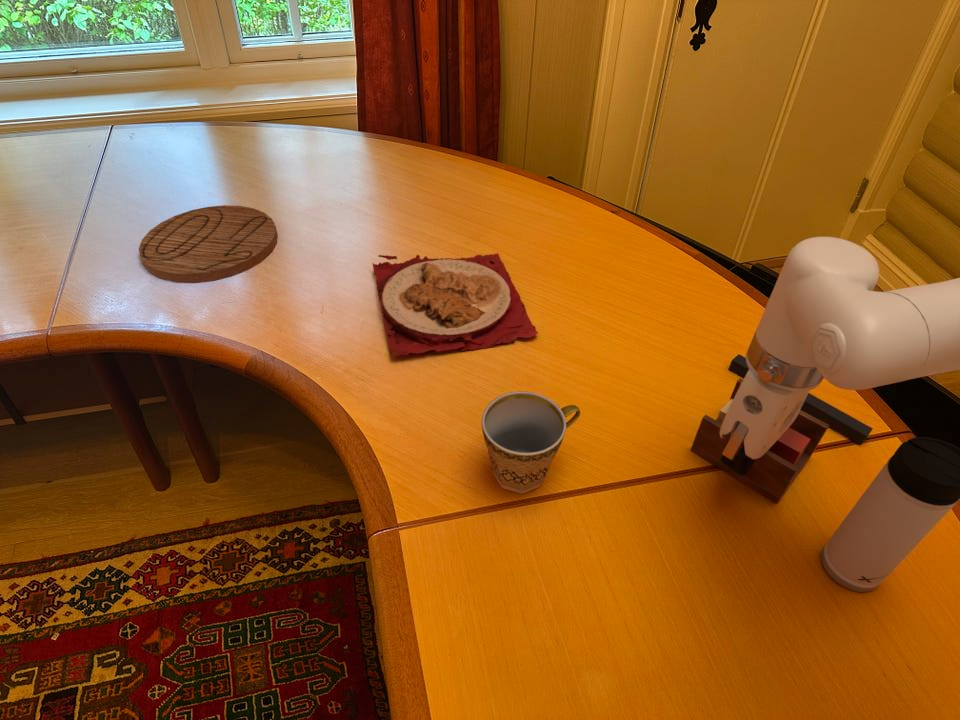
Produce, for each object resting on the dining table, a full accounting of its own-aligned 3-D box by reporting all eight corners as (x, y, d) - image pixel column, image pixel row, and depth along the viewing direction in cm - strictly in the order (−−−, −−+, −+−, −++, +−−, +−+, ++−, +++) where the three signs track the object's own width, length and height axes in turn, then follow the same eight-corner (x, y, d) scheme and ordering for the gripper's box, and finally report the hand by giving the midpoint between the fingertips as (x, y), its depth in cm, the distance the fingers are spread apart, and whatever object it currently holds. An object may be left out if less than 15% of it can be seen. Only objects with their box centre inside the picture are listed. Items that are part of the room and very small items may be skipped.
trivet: (298, 219, 125) (296, 211, 124) (240, 290, 107) (238, 281, 106) (187, 208, 128) (184, 200, 127) (113, 274, 110) (109, 265, 109)
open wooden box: (810, 458, 80) (829, 425, 75) (776, 504, 75) (796, 471, 70) (726, 411, 86) (739, 377, 82) (690, 450, 81) (702, 417, 76)
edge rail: (866, 438, 83) (873, 428, 81) (860, 445, 82) (866, 436, 80) (735, 363, 93) (738, 353, 92) (728, 369, 92) (731, 359, 91)
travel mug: (868, 607, 65) (972, 500, 52) (809, 564, 69) (892, 453, 55) (893, 571, 68) (996, 461, 55) (835, 532, 72) (919, 419, 58)
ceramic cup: (502, 517, 73) (505, 466, 66) (468, 457, 80) (467, 405, 73) (593, 479, 77) (604, 428, 70) (553, 426, 84) (560, 374, 77)
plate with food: (391, 364, 93) (389, 348, 91) (373, 269, 111) (371, 253, 109) (538, 342, 98) (540, 326, 95) (498, 254, 116) (499, 238, 113)
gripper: (788, 413, 55) (730, 521, 68) (857, 340, 63) (793, 450, 76) (716, 371, 59) (673, 481, 72) (788, 307, 67) (738, 417, 79)
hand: (735, 465), depth 74 cm, fingers closed
